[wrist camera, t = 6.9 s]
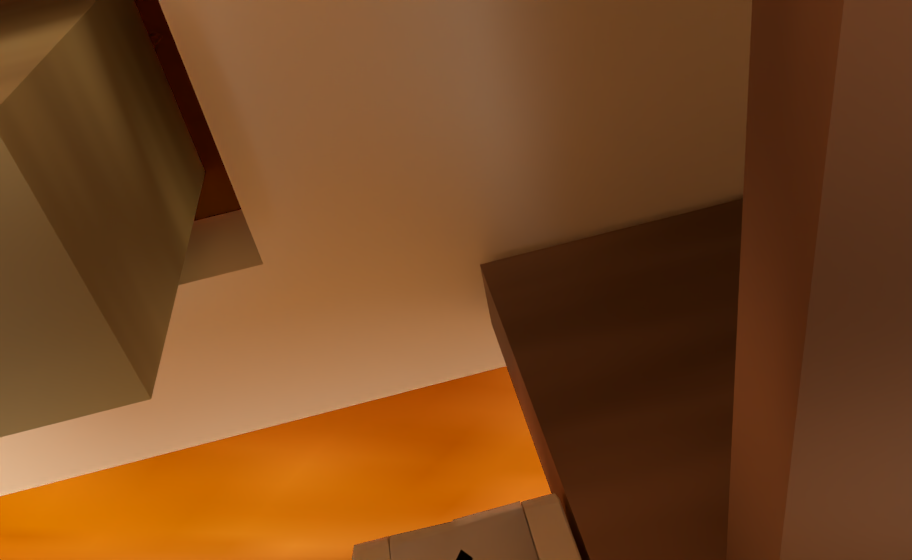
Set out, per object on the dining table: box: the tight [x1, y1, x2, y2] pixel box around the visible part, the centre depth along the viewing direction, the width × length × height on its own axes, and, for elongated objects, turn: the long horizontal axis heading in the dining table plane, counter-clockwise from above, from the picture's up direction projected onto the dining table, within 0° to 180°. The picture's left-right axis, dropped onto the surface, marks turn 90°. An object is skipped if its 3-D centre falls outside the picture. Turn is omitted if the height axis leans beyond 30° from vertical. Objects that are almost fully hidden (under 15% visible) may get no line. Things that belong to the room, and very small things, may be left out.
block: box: [0, 0, 205, 437], centre depth 12 cm, size 4×4×7 cm
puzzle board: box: [0, 0, 752, 496], centre depth 14 cm, size 14×32×2 cm, turn 101°
